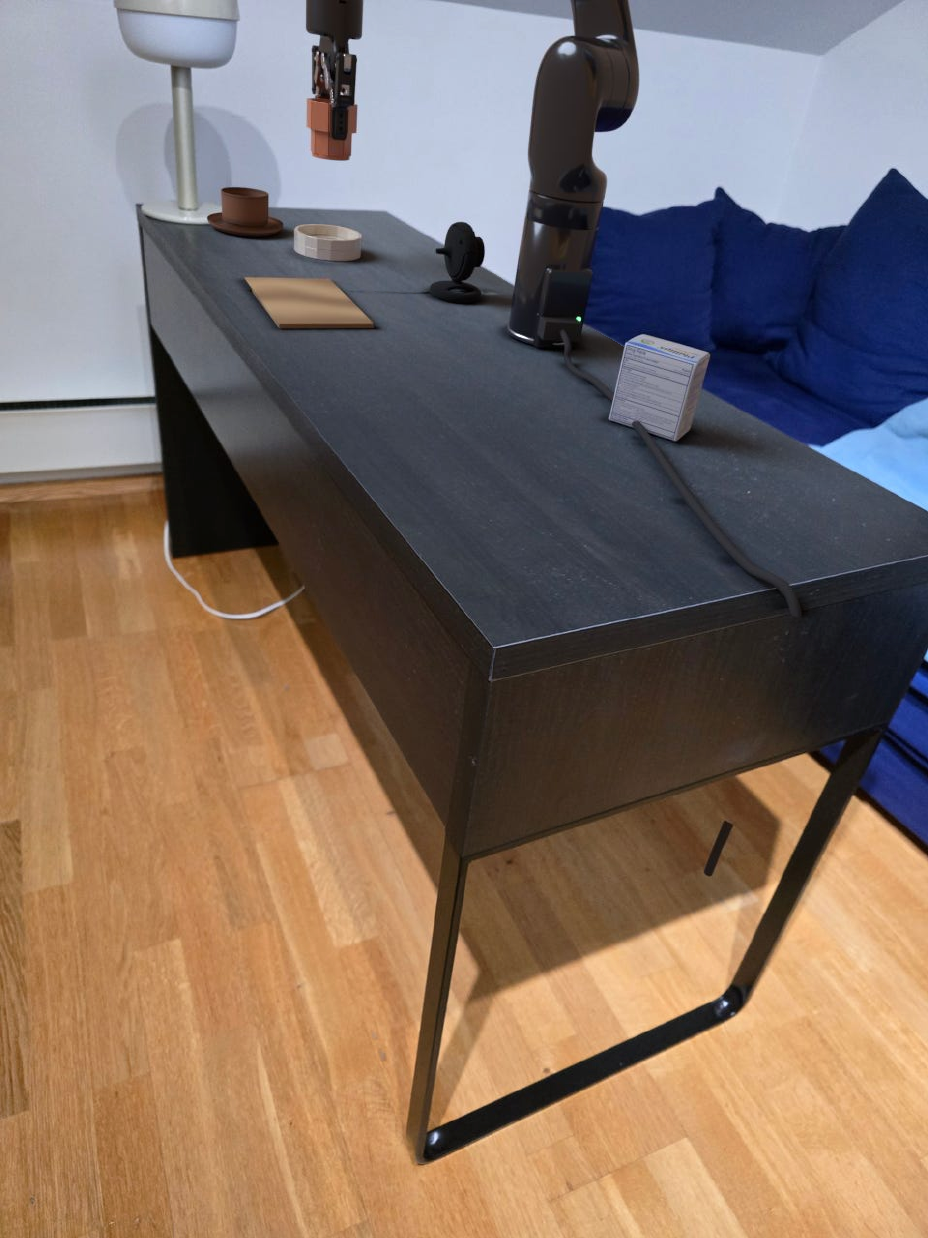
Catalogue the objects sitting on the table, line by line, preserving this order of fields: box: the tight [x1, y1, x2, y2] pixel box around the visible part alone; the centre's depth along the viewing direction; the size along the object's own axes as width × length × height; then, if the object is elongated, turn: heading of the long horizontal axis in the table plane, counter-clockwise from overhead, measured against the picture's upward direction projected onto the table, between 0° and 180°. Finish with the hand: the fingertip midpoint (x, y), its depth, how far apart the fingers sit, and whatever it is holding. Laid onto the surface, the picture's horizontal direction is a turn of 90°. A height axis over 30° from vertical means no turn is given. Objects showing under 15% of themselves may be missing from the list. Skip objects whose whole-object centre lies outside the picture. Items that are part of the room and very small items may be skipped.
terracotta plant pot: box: [306, 97, 358, 162], centre depth 125 cm, size 7×7×7 cm
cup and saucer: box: [206, 186, 284, 238], centre depth 141 cm, size 12×12×6 cm
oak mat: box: [244, 276, 375, 330], centre depth 115 cm, size 20×12×1 cm, turn 23°
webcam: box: [429, 221, 486, 304], centre depth 125 cm, size 8×8×10 cm
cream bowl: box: [293, 223, 363, 262], centre depth 137 cm, size 10×10×4 cm
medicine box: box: [608, 333, 711, 443], centre depth 92 cm, size 8×4×9 cm, turn 58°
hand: (331, 135), depth 125 cm, fingers closed on terracotta plant pot, 6 cm apart
